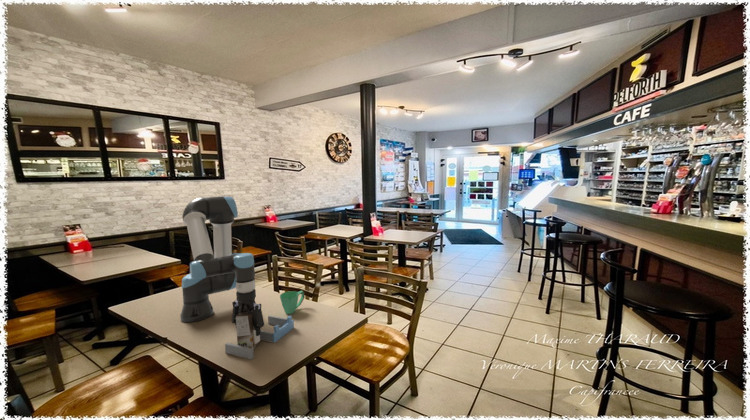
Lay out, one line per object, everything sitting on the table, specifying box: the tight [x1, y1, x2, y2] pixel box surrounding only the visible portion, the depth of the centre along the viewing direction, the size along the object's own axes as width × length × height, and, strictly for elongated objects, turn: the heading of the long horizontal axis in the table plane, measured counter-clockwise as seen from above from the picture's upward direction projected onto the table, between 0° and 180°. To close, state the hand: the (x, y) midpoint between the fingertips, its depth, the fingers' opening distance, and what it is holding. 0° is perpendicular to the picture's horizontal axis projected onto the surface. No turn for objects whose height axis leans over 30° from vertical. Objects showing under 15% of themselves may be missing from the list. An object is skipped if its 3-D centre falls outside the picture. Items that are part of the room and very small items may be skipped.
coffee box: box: [235, 310, 259, 351], centre depth 124 cm, size 9×6×16 cm
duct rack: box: [224, 315, 295, 360], centre depth 130 cm, size 15×27×7 cm, turn 160°
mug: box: [279, 290, 305, 315], centre depth 158 cm, size 15×10×10 cm
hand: (248, 340), depth 124 cm, fingers closed on coffee box, 8 cm apart
